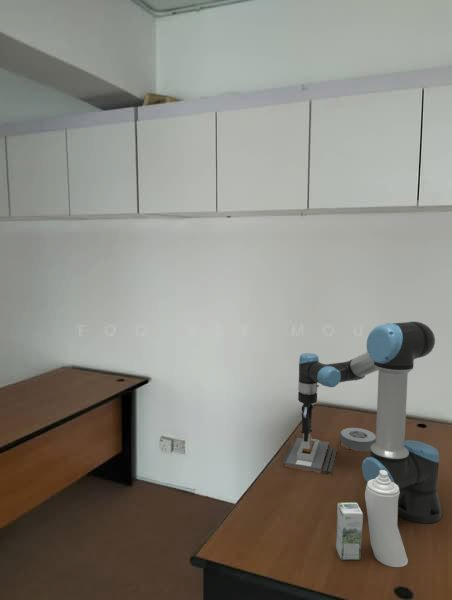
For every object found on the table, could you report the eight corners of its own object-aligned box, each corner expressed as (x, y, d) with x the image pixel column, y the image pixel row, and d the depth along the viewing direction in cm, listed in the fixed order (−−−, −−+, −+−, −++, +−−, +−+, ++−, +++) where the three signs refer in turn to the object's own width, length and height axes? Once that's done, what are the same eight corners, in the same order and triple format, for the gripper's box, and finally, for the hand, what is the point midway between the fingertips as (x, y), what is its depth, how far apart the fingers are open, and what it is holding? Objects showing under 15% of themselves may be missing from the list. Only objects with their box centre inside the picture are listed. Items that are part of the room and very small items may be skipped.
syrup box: (354, 547, 136) (356, 501, 134) (361, 561, 130) (363, 512, 128) (335, 547, 136) (337, 501, 134) (341, 561, 130) (342, 512, 128)
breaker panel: (331, 475, 179) (331, 464, 179) (281, 466, 186) (281, 456, 185) (337, 448, 204) (338, 438, 203) (294, 441, 210) (294, 432, 210)
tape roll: (382, 449, 203) (383, 438, 203) (354, 454, 198) (354, 443, 197) (360, 436, 218) (361, 425, 217) (333, 440, 212) (333, 430, 211)
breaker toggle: (309, 457, 190) (310, 438, 189) (303, 456, 191) (303, 437, 190) (311, 453, 193) (311, 435, 192) (304, 452, 194) (305, 434, 193)
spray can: (378, 571, 126) (382, 485, 123) (356, 547, 136) (360, 466, 133) (414, 564, 129) (419, 479, 126) (390, 541, 139) (394, 462, 136)
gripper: (314, 397, 179) (312, 455, 181) (319, 388, 191) (317, 442, 193) (295, 395, 181) (294, 453, 184) (301, 386, 193) (299, 440, 196)
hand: (306, 447), depth 189 cm, fingers closed
